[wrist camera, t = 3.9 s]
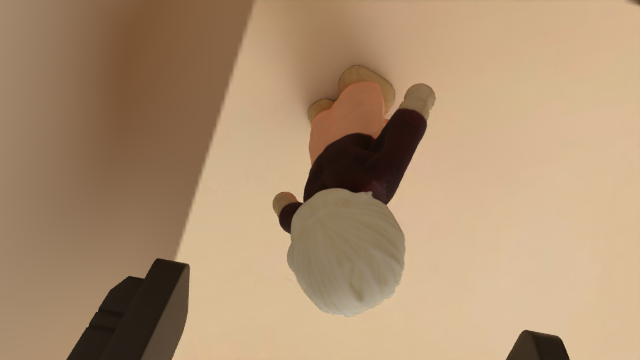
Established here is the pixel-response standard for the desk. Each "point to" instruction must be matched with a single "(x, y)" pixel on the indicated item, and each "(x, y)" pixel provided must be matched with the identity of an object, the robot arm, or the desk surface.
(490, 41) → the desk surface
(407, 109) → the grandmother figurine
